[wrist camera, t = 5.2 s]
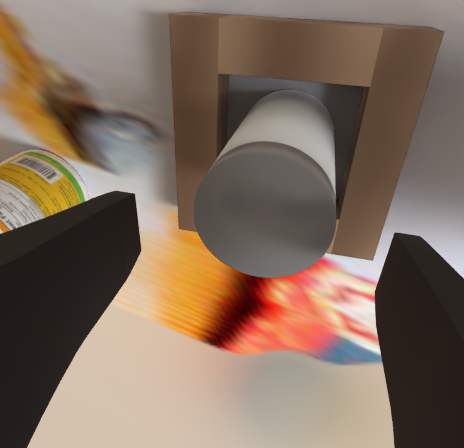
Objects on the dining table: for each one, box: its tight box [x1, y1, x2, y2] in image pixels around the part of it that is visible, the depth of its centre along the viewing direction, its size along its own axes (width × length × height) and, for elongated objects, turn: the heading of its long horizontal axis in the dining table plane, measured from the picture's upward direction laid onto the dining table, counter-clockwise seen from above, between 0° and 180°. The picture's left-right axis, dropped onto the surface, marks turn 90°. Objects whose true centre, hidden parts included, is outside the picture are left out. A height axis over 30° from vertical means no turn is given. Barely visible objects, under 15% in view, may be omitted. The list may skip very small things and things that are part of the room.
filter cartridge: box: [193, 89, 336, 278], centre depth 15 cm, size 4×4×8 cm
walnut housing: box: [169, 12, 444, 261], centre depth 17 cm, size 10×10×2 cm
